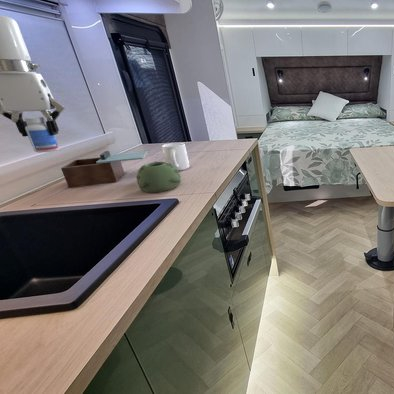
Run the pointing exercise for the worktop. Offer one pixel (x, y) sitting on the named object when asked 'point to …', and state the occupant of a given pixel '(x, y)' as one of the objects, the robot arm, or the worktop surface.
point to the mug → (176, 155)
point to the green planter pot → (158, 177)
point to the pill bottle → (40, 135)
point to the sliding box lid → (121, 156)
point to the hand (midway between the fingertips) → (40, 134)
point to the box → (91, 172)
